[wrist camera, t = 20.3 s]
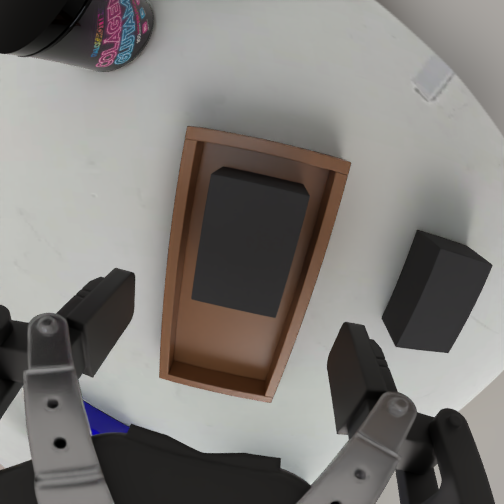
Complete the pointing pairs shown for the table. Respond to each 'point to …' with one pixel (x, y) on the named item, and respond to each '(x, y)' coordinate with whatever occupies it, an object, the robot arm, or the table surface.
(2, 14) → the supplement container
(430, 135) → the table surface
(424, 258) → the pad
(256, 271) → the pad
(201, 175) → the tray
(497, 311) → the table surface
